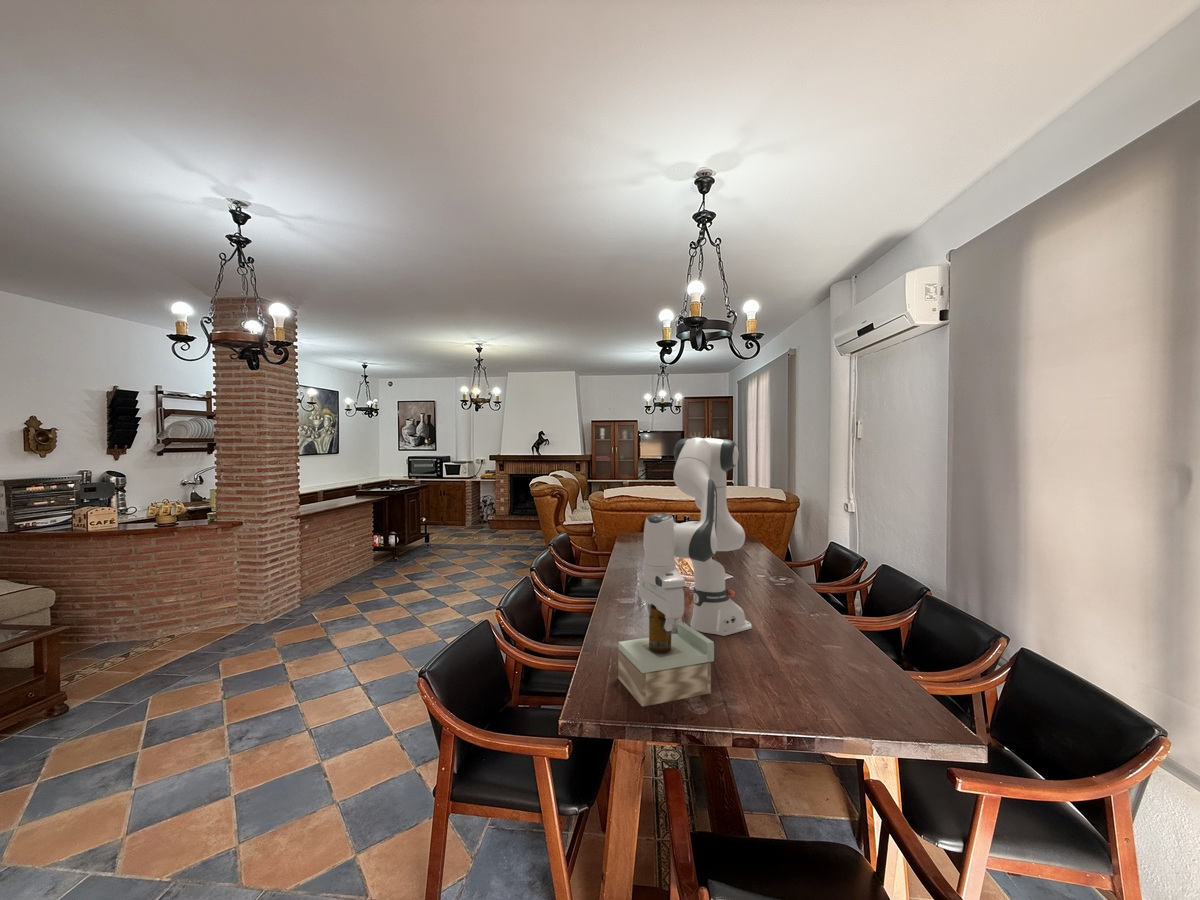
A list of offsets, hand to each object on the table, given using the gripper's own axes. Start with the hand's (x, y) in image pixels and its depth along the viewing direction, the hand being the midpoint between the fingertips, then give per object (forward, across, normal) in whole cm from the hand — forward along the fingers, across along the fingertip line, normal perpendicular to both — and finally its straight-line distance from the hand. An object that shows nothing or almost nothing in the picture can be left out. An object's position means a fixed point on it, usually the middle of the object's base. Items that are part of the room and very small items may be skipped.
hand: (659, 624), depth 128 cm
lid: (+9, 0, +2) cm, 9 cm away
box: (+17, 0, +1) cm, 17 cm away
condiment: (+7, +1, 0) cm, 7 cm away
